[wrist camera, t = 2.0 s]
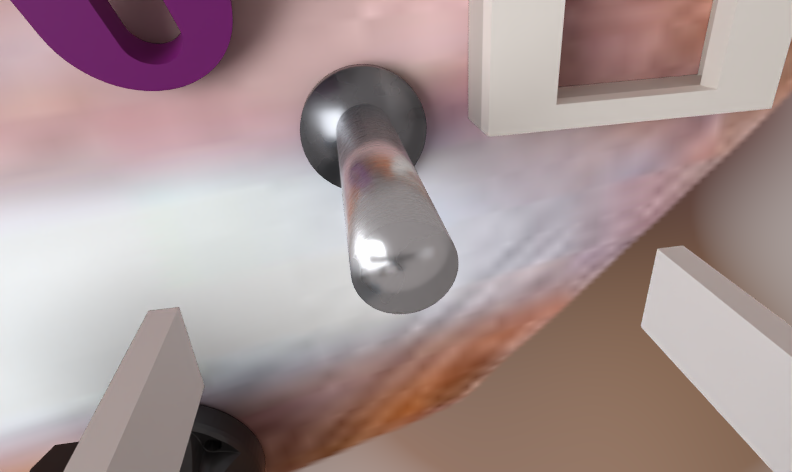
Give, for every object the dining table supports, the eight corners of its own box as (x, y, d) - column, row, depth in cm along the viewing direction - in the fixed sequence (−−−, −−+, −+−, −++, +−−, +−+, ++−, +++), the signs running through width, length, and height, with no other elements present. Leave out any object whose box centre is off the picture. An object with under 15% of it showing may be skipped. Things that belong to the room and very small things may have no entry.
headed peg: (425, 179, 35) (515, 347, 19) (310, 192, 34) (301, 377, 18) (421, 58, 31) (529, 139, 15) (291, 70, 30) (260, 167, 14)
